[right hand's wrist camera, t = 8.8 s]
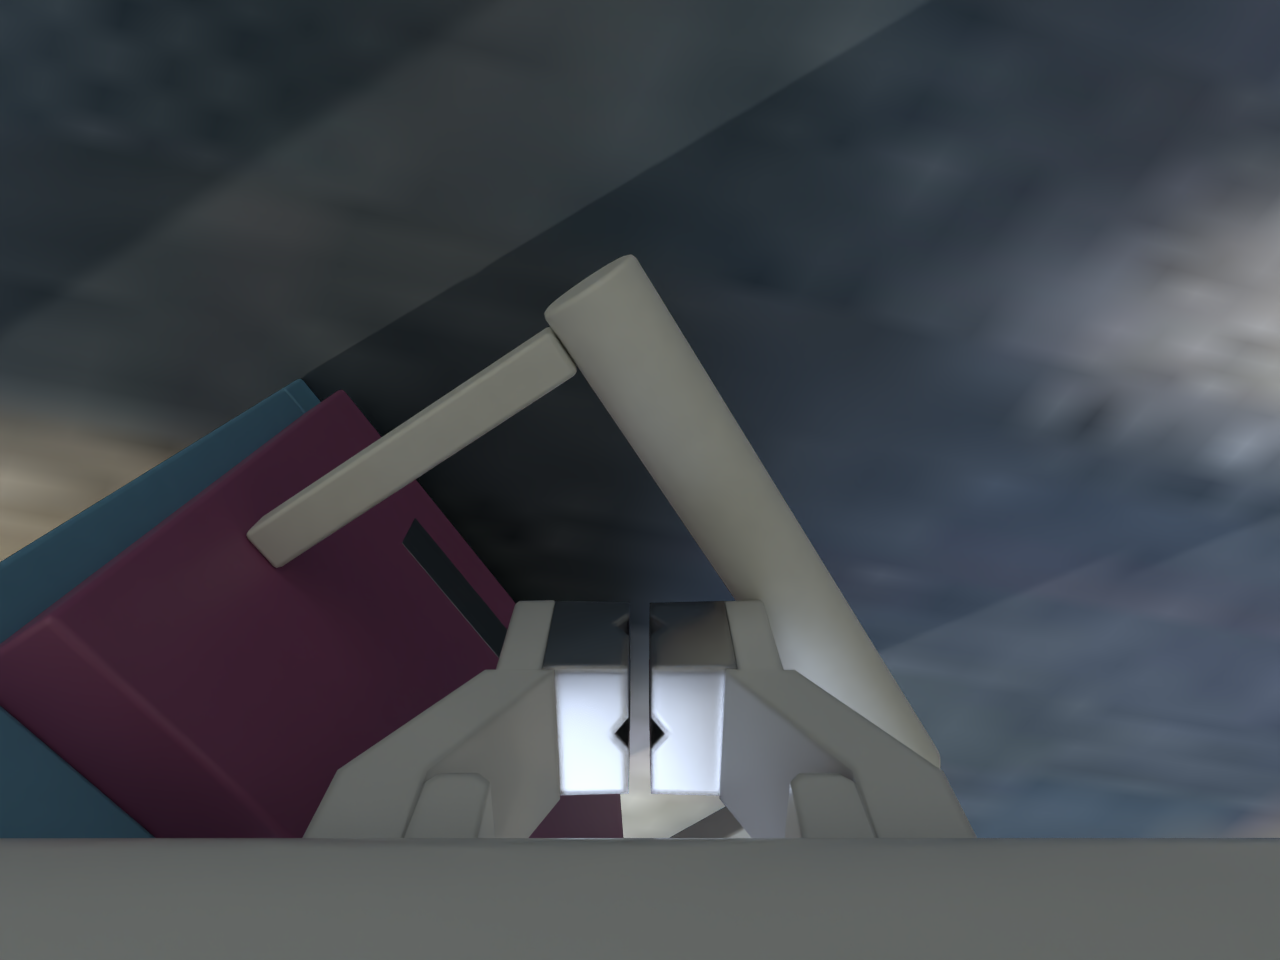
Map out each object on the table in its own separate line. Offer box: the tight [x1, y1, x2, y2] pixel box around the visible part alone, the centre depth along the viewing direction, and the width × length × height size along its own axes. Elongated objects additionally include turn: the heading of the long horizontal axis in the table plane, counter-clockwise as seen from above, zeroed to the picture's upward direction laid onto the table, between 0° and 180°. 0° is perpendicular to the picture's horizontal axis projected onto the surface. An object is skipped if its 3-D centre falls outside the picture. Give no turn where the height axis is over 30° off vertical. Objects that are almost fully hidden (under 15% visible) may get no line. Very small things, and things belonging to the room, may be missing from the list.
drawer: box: [0, 255, 940, 838], centre depth 13 cm, size 22×10×9 cm, turn 122°
